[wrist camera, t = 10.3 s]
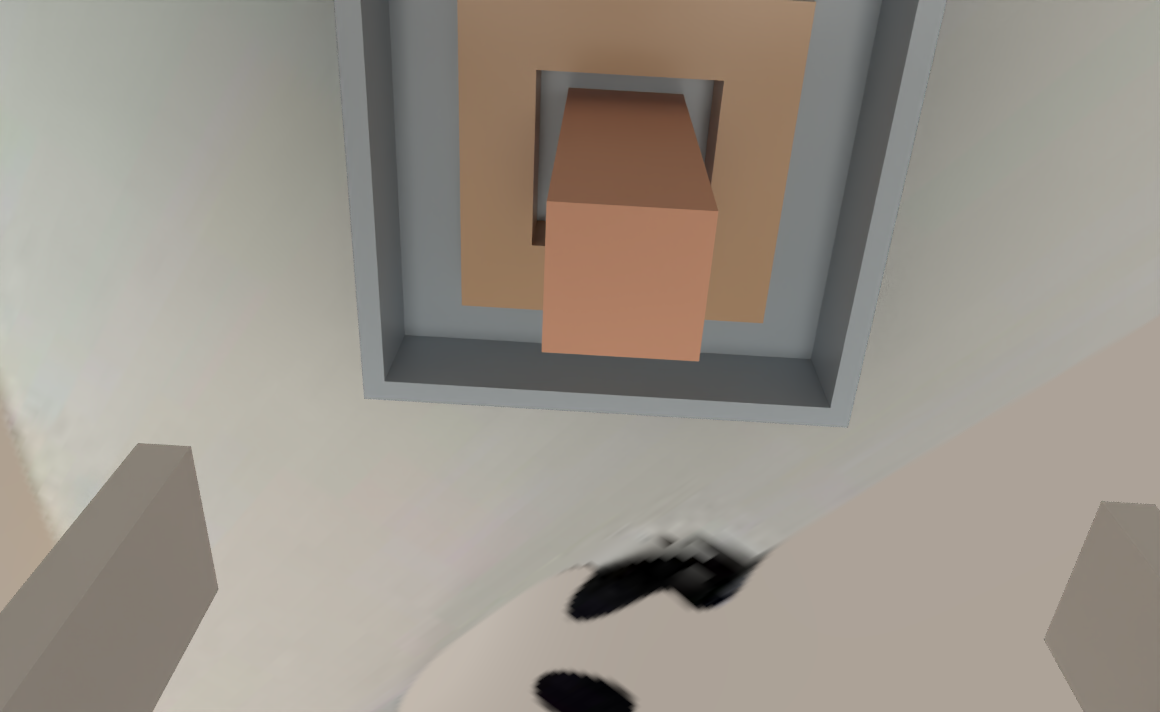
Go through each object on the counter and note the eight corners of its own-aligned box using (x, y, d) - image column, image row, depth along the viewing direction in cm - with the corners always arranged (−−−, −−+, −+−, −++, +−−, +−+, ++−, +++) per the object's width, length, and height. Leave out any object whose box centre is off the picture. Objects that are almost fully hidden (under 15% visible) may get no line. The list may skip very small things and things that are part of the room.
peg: (568, 87, 31) (546, 201, 21) (683, 94, 31) (718, 211, 21) (564, 197, 33) (541, 352, 23) (671, 203, 33) (698, 361, 23)
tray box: (361, -156, 29) (321, -158, 25) (924, -124, 29) (974, -121, 25) (390, 342, 37) (364, 398, 34) (823, 368, 37) (848, 427, 33)
